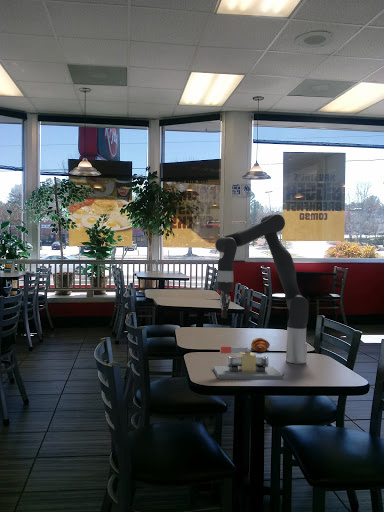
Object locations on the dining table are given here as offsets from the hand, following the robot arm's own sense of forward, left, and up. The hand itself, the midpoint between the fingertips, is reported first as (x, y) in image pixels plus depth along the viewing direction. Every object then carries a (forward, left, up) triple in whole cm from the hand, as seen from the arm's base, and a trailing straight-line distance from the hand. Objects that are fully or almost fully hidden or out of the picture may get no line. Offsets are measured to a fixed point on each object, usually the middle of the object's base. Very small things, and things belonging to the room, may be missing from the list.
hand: (224, 317), depth 212 cm
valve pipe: (-9, +10, -22) cm, 26 cm away
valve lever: (-4, +11, -14) cm, 18 cm away
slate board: (-9, +10, -23) cm, 27 cm away
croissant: (-28, -41, -24) cm, 55 cm away
